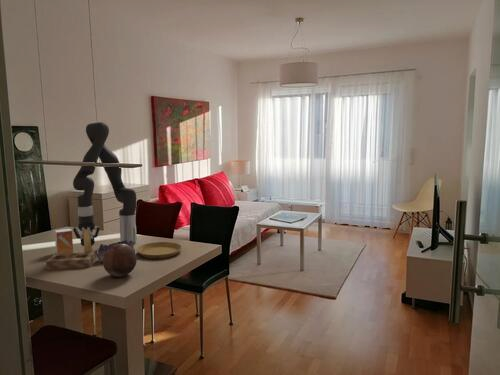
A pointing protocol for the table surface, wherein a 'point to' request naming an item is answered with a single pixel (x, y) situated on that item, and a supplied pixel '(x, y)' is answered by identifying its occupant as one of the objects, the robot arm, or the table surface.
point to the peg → (87, 241)
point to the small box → (64, 241)
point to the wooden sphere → (119, 260)
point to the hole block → (70, 260)
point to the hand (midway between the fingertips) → (87, 245)
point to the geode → (104, 247)
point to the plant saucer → (159, 249)
